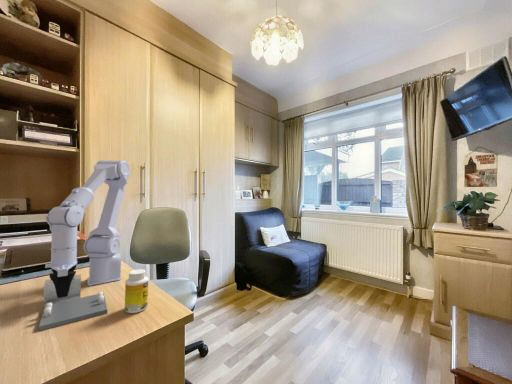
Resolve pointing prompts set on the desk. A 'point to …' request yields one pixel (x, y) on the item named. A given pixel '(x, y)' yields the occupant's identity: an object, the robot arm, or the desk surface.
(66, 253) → the robot arm
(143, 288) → the supplement bottle
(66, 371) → the desk surface
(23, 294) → the desk surface
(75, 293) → the block
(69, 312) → the pin tray
